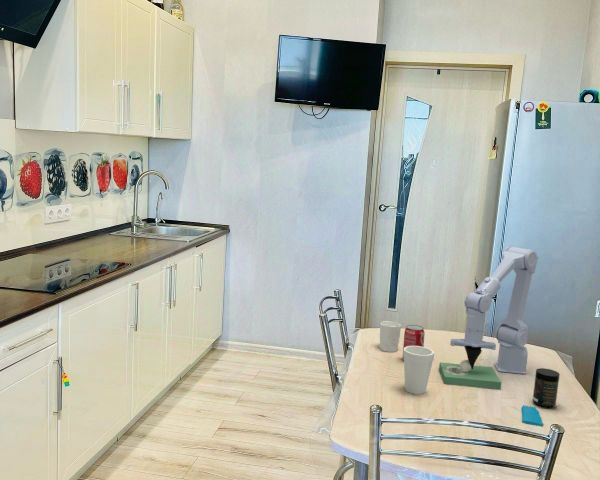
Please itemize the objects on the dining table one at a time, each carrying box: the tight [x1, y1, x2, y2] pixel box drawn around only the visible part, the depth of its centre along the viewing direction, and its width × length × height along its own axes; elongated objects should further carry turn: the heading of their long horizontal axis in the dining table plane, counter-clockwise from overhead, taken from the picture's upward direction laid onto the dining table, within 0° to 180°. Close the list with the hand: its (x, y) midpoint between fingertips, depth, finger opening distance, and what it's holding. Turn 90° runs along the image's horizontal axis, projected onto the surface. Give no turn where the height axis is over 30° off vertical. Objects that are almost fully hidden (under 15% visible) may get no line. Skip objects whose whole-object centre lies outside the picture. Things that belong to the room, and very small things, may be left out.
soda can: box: [402, 324, 426, 361], centre depth 211 cm, size 7×7×13 cm
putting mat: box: [438, 361, 502, 391], centre depth 198 cm, size 18×14×2 cm
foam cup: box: [402, 346, 435, 395], centre depth 185 cm, size 10×9×13 cm
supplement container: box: [532, 367, 561, 410], centre depth 180 cm, size 7×7×10 cm
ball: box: [459, 359, 471, 372], centre depth 198 cm, size 4×4×4 cm
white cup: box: [379, 320, 402, 353], centre depth 224 cm, size 8×8×10 cm
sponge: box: [521, 404, 544, 427], centre depth 171 cm, size 2×12×6 cm
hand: (470, 368), depth 197 cm, fingers closed, pressing on ball
